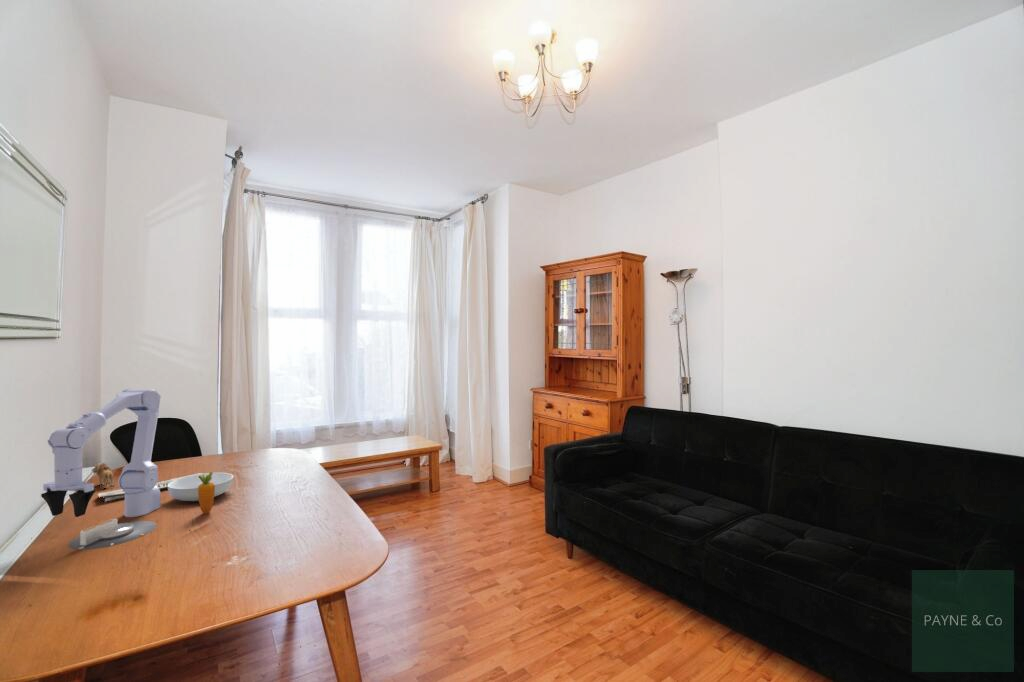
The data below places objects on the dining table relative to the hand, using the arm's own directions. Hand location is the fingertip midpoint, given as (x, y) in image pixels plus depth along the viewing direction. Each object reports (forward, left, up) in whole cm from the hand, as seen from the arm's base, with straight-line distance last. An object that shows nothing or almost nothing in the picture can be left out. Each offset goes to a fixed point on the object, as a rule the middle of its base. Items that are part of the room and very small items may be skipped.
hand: (68, 515), depth 128 cm
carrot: (-25, +22, -10) cm, 35 cm away
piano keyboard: (-49, -22, -10) cm, 55 cm away
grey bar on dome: (-5, +7, -8) cm, 12 cm away
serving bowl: (-42, +5, -10) cm, 44 cm away
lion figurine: (-51, -48, -10) cm, 71 cm away
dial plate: (-7, +7, -9) cm, 14 cm away
